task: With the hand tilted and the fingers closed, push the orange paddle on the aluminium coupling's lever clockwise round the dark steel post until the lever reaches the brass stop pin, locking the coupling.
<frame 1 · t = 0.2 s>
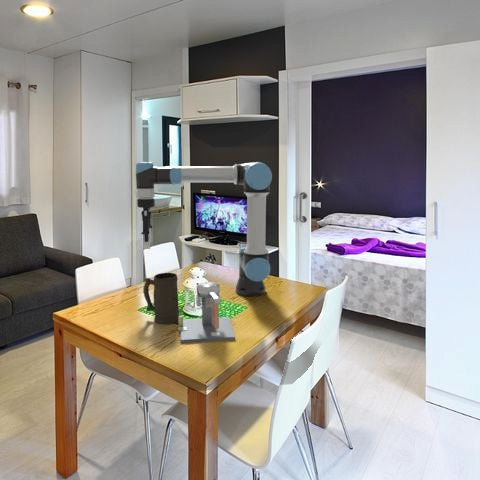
hand: (147, 245, 185), 28 cm above the table, fingers open, 13 cm apart
beer stein: (161, 319, 173), on the table
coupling: (210, 304, 160), point 11 cm above the table, hinge at 0.0°
lock post: (206, 330, 162), on the table
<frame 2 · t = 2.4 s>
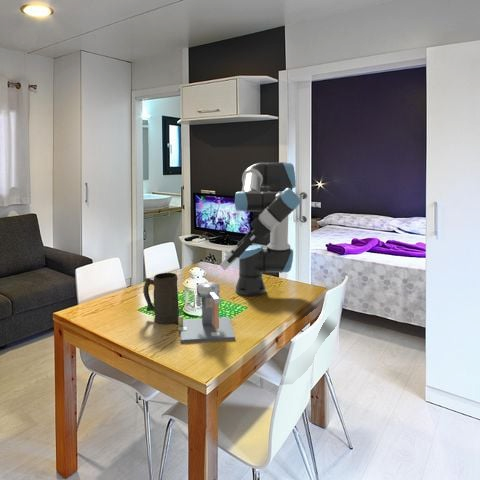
hand: (224, 263, 155), 28 cm above the table, fingers open, 13 cm apart
nothing on the table moved.
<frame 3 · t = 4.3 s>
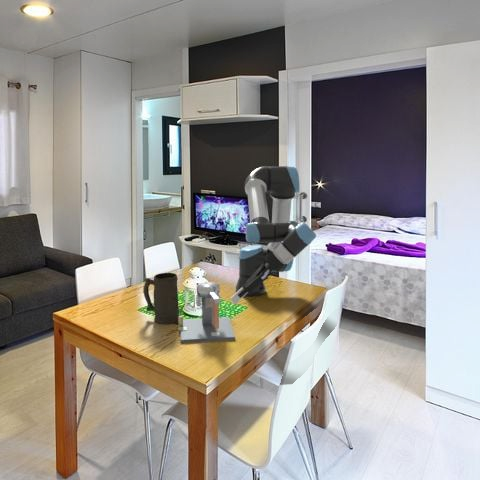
hand: (232, 301, 153), 14 cm above the table, fingers closed
nothing on the table moved.
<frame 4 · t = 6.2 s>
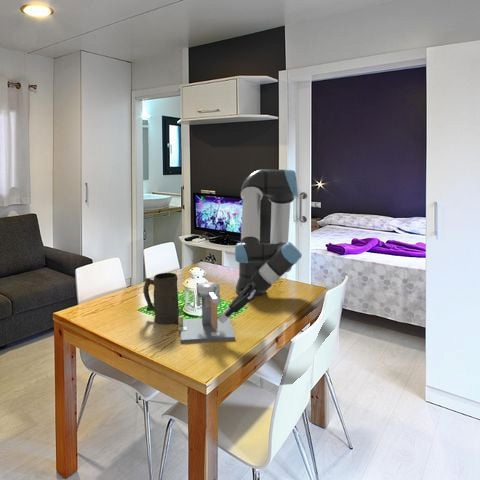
hand: (220, 320, 154), 7 cm above the table, fingers closed
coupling: (210, 304, 160), point 11 cm above the table, hinge at -2.4°, touching gripper
everything else where it was.
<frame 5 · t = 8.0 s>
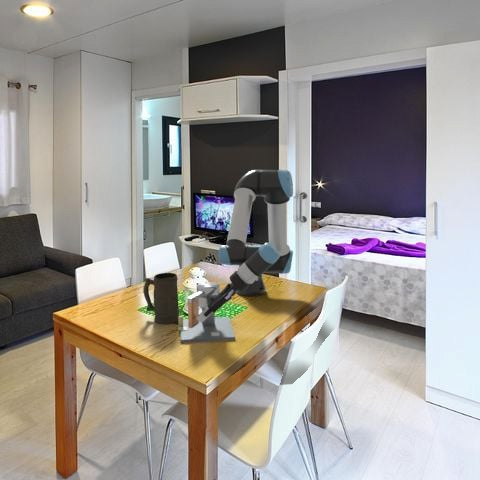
hand: (199, 320, 155), 7 cm above the table, fingers closed
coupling: (202, 304, 160), point 11 cm above the table, hinge at -43.6°, touching gripper
everything else where it was.
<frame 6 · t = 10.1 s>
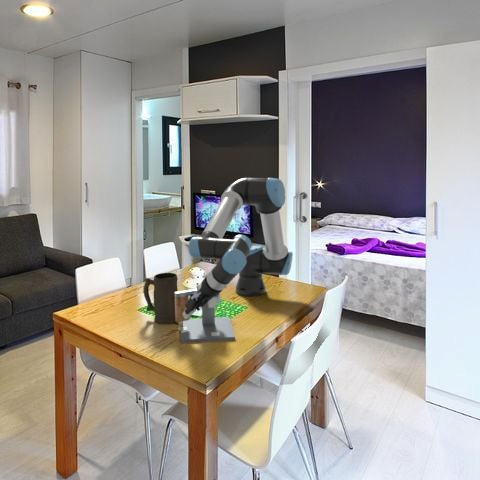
hand: (185, 316, 158), 7 cm above the table, fingers closed
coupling: (197, 302, 162), point 11 cm above the table, hinge at -80.3°, touching gripper
everything else where it was.
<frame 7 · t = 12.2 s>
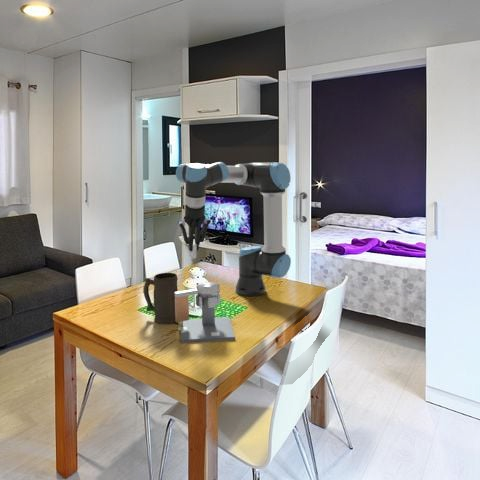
hand: (193, 256, 168), 27 cm above the table, fingers closed
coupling: (197, 302, 162), point 11 cm above the table, hinge at -80.3°
everything else where it was.
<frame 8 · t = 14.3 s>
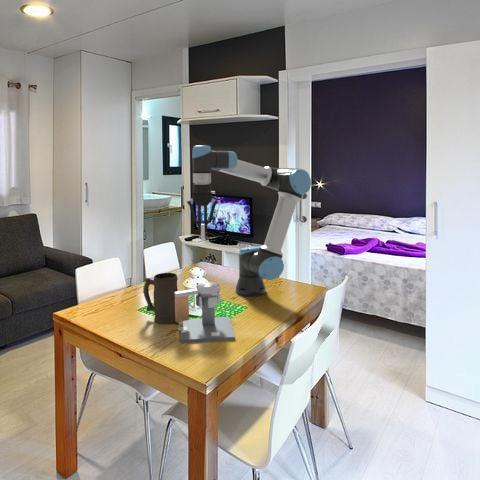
hand: (202, 239, 176), 32 cm above the table, fingers closed
nothing on the table moved.
at the end: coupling at -80° (first picture: +0°) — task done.
